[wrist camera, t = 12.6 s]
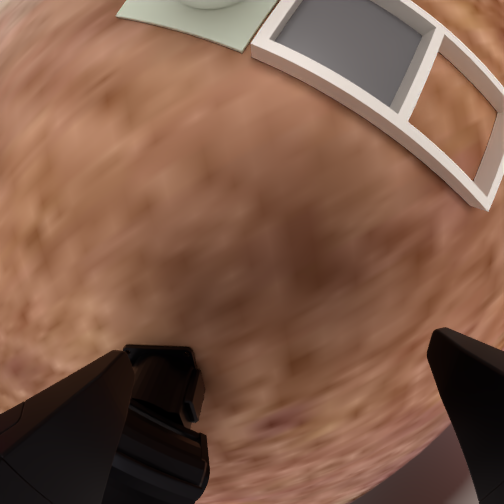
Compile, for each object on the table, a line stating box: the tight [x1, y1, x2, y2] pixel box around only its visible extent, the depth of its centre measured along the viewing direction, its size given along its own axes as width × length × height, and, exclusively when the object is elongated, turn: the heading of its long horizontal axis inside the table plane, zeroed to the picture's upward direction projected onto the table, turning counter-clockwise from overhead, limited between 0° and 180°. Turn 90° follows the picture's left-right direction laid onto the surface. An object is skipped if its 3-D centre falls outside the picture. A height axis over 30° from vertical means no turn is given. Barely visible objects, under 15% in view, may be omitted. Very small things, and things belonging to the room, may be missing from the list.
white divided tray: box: [116, 0, 504, 212], centre depth 14 cm, size 32×11×2 cm, turn 62°
